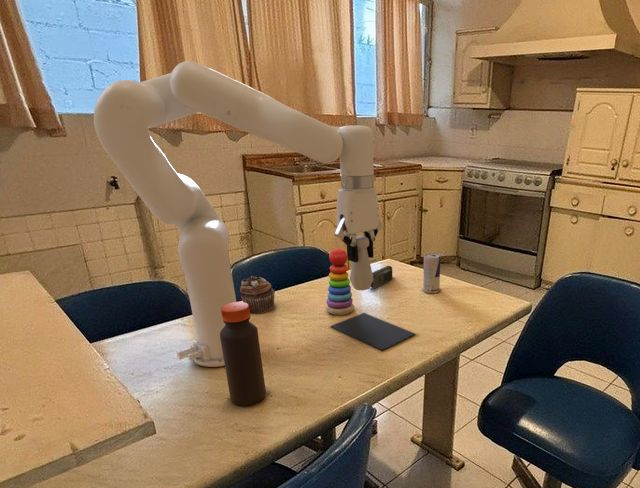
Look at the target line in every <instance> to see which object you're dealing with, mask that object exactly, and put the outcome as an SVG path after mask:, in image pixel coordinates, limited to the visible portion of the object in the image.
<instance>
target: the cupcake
mask: <svg viewBox="0 0 640 488" xmlns="http://www.w3.org/2000/svg"><path fill="white" fill-rule="evenodd" d="M239 292H240V293H239V295H240V298H241V301H242V302H245V303H247V304H248V305H249V310H250V314H262V313H263V314H264V313H267V312H270V311H271V310H273V309H274V307H275V296H276V295H275V293H276V292H275V289H273V288H272V283H270V282H269V281H267V280H266V279H265V278H263V277H262V276H261V275H255V274H251V275H250V277H248V278H245V277H244V278H242V280H241V285H240V288H239Z"/></svg>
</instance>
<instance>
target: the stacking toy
mask: <svg viewBox="0 0 640 488" xmlns="http://www.w3.org/2000/svg"><path fill="white" fill-rule="evenodd" d="M328 256H329V257H328V259H329V261H330V263H331V264H332V265H330V267H329V271H330V272H329V274H328V277H329V280H328V284H329V285H328V287H327V290H328V293H327V299H326V307H325V309H326V312H328V313H329V314H332V315H334V316H335V315H336V316H340V315H348V314H350V313H352V312H353V311H354V309H355V305H354V303H353V302H354V301H353V297H352V296H353V293H352V291H351V290H352V286H351V285H350V283H351V281H350V278H349V272H348V269H349V268H348V267H349V266H348V265H347V264H346V263H347V261H348V257H347V251H345V250H344V249H343V248H339V247H338V248H334V249H332V250H331V251H330V253H329V255H328Z"/></svg>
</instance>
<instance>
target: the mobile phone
mask: <svg viewBox="0 0 640 488" xmlns="http://www.w3.org/2000/svg"><path fill="white" fill-rule="evenodd" d="M372 274H373V282H372V284H371V286H370V291H373V290H375V289H376V288H378V287H379V286H382V285H383V284H386V283H388V282H389V281H391V280H392V279H393V266H391V265H385V266H384V267H382V268H379V269H377V270H375V271H372Z"/></svg>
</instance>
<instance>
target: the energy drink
mask: <svg viewBox="0 0 640 488" xmlns="http://www.w3.org/2000/svg"><path fill="white" fill-rule="evenodd" d="M422 280H423V281H422V282H423V285H422V286H423V287H422V288H423V292H424V293H427V294H436V293H439V292H440V290H441V289H440V285H441V284H440V283H441V256H440V254H438V253H426V254H424V256H423V279H422Z"/></svg>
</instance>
